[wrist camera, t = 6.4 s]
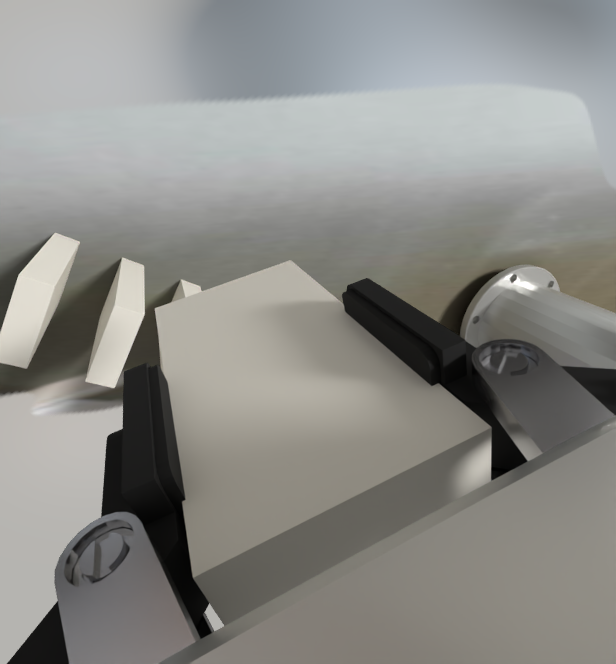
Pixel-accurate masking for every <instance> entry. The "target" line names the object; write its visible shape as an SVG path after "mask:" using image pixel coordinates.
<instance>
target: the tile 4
mask: <svg viewBox="0 0 616 664" xmlns="http://www.w3.org/2000/svg"><path fill="white" fill-rule="evenodd" d="M155 314H156V321H157V328H158V335H159V343H160V350H161V357H162V364H163V371H164V376H165V378H166V380H167V382H168V388H169V394H170V401H171V407H172V414H173V420H174V427H175V433H176V440H177V446H178V453H179V459H180V466H181V472H182V479H183V485H184V492H185V499H186V500H184V501H182V505H183V512H184V519H185V526H186V533H187V540H188V547H189V554H190V561H191V568H192V575H193V579H194V580H195V582H196V583H197V585H198V586H199V588H200V589H201V591H202V592H203V594H204V595H205V597H206V598H207V600H208V601H209V603H210V604H211V606H212V607H213V609H214V611H215V612H216V613H217V615H218V617H219V618H220V620H221V621H222V623H223V624H224V626H226V625H228V624H229V623H231V622H233V621H235V620H237V619H239V618H240V617H242V616H244V615H246V614H248V613H250V612H251V611H253V610H255V609H257V608H259V607H260V606H262V605H264V604H266V603H268V602H270V601H271V600H273V599H275V598H277V597H279V596H281V595H282V594H284V593H286V592H288V591H290V590H291V589H293V588H295V587H297V586H299V585H301V584H302V583H304V582H306V581H308V580H310V579H311V578H313V577H315V576H317V575H319V574H321V573H322V572H324V571H326V570H328V569H330V568H332V567H333V566H335V565H337V564H339V563H341V562H343V561H344V560H346V559H348V558H350V557H352V556H354V555H355V554H357V553H359V552H361V551H363V550H365V549H367V548H368V547H370V546H372V545H374V544H376V543H378V542H379V541H381V540H383V539H385V538H387V537H389V536H390V535H392V534H394V533H396V532H398V531H400V530H402V529H403V528H405V527H407V526H409V525H411V524H413V523H414V522H416V521H418V520H420V519H422V518H424V517H426V516H427V515H429V514H431V513H433V512H435V511H437V510H438V509H440V508H442V507H444V506H446V505H448V504H450V503H451V502H453V501H455V500H457V499H459V498H461V497H463V496H464V495H466V494H468V493H470V492H472V491H474V490H475V489H477V488H479V487H481V486H483V485H485V484H487V483H489V482H490V481H491V436H492V427H491V426H489V425H488V424H487V423H486V422H485V421H483V420H482V419H481V418H480V417H479V416H477V415H476V414H475V413H474V412H473V411H471V410H470V409H469V408H468V407H467V406H465V405H464V404H463V403H462V402H461V401H459V400H458V399H457V398H456V397H455V396H453V395H452V394H451V393H450V392H449V391H447V390H446V389H445V388H444V387H443V386H441V385H440V384H439V383H438V384H436V385H433V386H431V385H430V384H428V383H427V382H426V381H425V380H424V379H423V378H421V377H420V376H419V375H418V374H417V373H416V372H414V371H413V370H412V369H411V368H410V367H409V366H407V365H406V364H405V363H404V362H403V361H402V360H401V359H399V358H398V357H397V356H396V355H395V354H394V353H392V352H391V351H390V350H389V349H388V348H387V347H385V346H384V345H383V344H382V343H381V342H380V341H378V340H377V339H376V338H375V337H374V336H373V335H371V334H370V333H369V332H368V331H367V330H366V329H364V328H363V327H362V326H361V325H360V324H359V323H357V322H356V321H355V320H354V319H353V318H352V317H351V316H349V315H348V314H347V313H346V312H345V309H344V304H343V303H341V302H340V301H339V300H338V299H337V298H335V297H334V296H333V295H332V294H331V293H329V292H328V291H327V290H326V289H325V288H323V287H322V286H321V285H320V284H319V283H317V282H316V281H315V280H314V279H313V278H311V277H310V276H309V275H308V274H306V273H305V272H304V271H303V270H302V269H300V268H299V267H298V266H297V265H296V264H294V263H293V262H292V261H291V260H290V261H287V262H284V263H281V264H278V265H276V266H273V267H270V268H267V269H264V270H261V271H259V272H256V273H253V274H250V275H247V276H245V277H242V278H239V279H236V280H233V281H230V282H228V283H225V284H222V285H219V286H216V287H213V288H211V289H208V290H205V291H202V292H199V293H197V294H194V295H191V296H188V297H185V298H182V299H180V300H177V301H174V302H171V303H168V304H166V305H163V306H160V307H157V308H155Z"/></svg>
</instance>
